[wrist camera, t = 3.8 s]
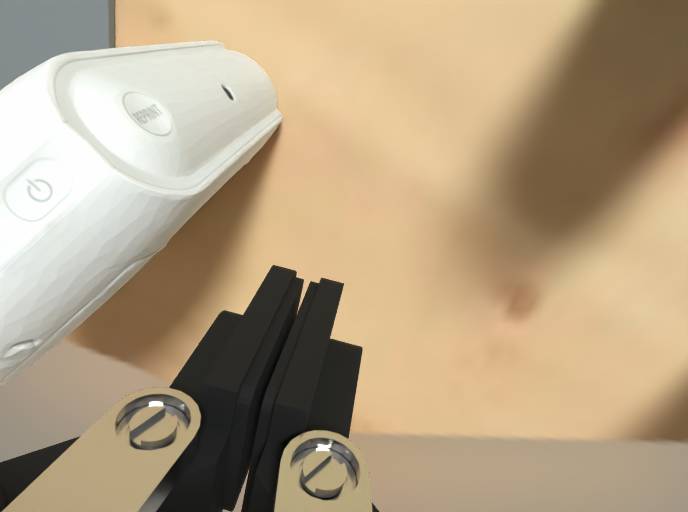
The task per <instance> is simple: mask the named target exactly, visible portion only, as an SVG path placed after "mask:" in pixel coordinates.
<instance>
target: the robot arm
mask: <svg viewBox="0 0 688 512" xmlns="http://www.w3.org/2000/svg"><path fill="white" fill-rule="evenodd" d="M296 274H297V272H296V271H294V270H291V269H287V268H283V267H279V266H275V265H273V266H272V267H271V269H270V271H269V272H268V274H267V276H266V277H265V279H264V281H263V282H262V284H261V286H260V288H259V289H258V291H257V293H256V294H255V296H254V298H253V299H252V301H251V303H250V304H249V306H248V308H247V309H246V311H245V313H244V315H240V314H236V313H232V312H229V311H225V310H224V311H222V312H221V313H220V314H219V315H218V317H217V318H216V319H215V321H214V322H213V324H212V325H211V327H210V328H209V330H208V331H207V333H206V334H205V336H204V337H203V339H202V340H201V342H200V343H199V345H198V346H197V347H196V349H195V350H194V352H193V353H192V355H191V356H190V358H189V359H188V361H187V362H186V364H185V365H184V367H183V368H182V370H181V371H180V372H179V374H178V375H177V377H176V378H175V380H174V381H173V383H172V384H171V386H170V387H169V388H165V387H153V388H147V389H142V390H138V391H136V392H134V393H131V394H129V395H126V396H125V397H124V398H122V399H121V400H120V401H118V402H117V403H115V405H113V406H112V407H111V408H110V409H109V410H108V411H107V412H106V413H105V414H104V415H103V416H102V417H101V418H100V419H99V420H98V421H96V422H95V423H94V424H93V425H92V426H91V427H90V428H89V429H88V430H87V431H86V432H85V433H84V434H83V435H82V436H80V437H77V438H74V439H71V440H68V441H65V442H62V443H59V444H56V445H53V446H50V447H47V448H44V449H41V450H37V451H34V452H31V453H28V454H25V455H22V456H19V457H16V458H13V459H10V460H7V461H4V462H1V463H0V512H222V510H223V509H225V510H228V511H231V512H232V511H233V510H234V507H235V505H236V502H237V500H238V497H239V494H240V492H241V488H242V486H243V484H244V481H245V478H246V476H247V473H248V470H249V473H248V479H247V484H246V489H245V494H244V500H243V505H242V510H241V512H379V511H378V510H377V508H376V507H375V506H374V505H373V503H372V499H371V484H370V472H369V468H368V464H367V460H366V459H365V457H364V455H363V454H362V452H361V450H360V449H359V448H358V447H357V446H356V445H355V444H354V443H353V442H352V441H351V440H349V439H348V438H349V432H350V425H351V419H352V413H353V406H354V400H355V394H356V388H357V381H358V375H359V369H360V362H361V356H362V347H360V346H356V345H352V344H349V343H345V342H341V341H337V340H334V339H330V336H331V332H332V328H333V324H334V320H335V317H336V313H337V309H338V305H339V301H340V297H341V294H342V290H343V286H344V283H340V282H336V281H332V280H328V279H325V278H321V280H320V282H319V283H315V282H312V281H311V282H310V284H309V286H308V289H307V291H306V294H305V296H304V299H303V301H302V304H301V306H300V309H299V311H298V306H299V302H300V297H301V292H302V288H303V283H304V279H300V278H297V277H296ZM297 311H298V314H297ZM249 467H250V468H249Z"/></svg>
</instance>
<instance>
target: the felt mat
mask: <svg viewBox="0 0 688 512" xmlns="http://www.w3.org/2000/svg"><path fill="white" fill-rule="evenodd" d="M109 48H115V0H0V91H1V90H2V89H3V88H4V87H5V86H7V85H8V84H10V83H11V82H13V81H14V80H15V79H16V78H18V77H20V76H21V75H23V74H25V73H26V72H28V71H30V70H31V69H33V68H35V67H36V66H38V65H40V64H41V63H43V62H45V61H47V60H49V59H51V58H52V57H55V56H58V55H61V54H64V53H69V52H78V51H93V50H100V49H109Z"/></svg>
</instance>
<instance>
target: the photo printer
mask: <svg viewBox="0 0 688 512" xmlns="http://www.w3.org/2000/svg"><path fill="white" fill-rule="evenodd" d="M277 106H278V102H277V96H276V92H275V89H274V86H273V84H272V82H271V80H270V78H269V77H268V75H267V74H266V73H265V71H264V70H263V69H262V68H261V67H260V66H259V64H257V63H256V62H255V61H254V60H252V59H251V58H249V57H248V56H246V55H244V54H241V53H239V52H236V51H231V50H227V49H226V48H225V47H224V45H223V44H222V43H221V42H217V41H196V42H183V43H171V44H158V45H147V46H131V47H120V48H109V49H100V50H93V51H78V52H69V53H64V54H61V55H58V56H55V57H52V58H51V59H49V60H47V61H45V62H43V63H41V64H40V65H38V66H36V67H35V68H33V69H31V70H30V71H28V72H26V73H25V74H23V75H21V76H20V77H18V78H16V79H15V80H14V81H13V82H11V83H10V84H8V85H7V86H5V87H4V88H3V89H2V90H1V91H0V387H1V386H3V385H5V384H6V383H8V382H9V381H10V380H12V379H13V378H14V377H16V376H17V375H19V374H20V373H22V372H23V371H24V370H26V369H27V368H28V367H30V366H31V365H32V364H33V363H35V362H36V361H37V360H39V359H40V358H41V357H42V356H44V355H45V354H46V353H47V352H48V351H50V350H51V349H52V348H53V347H54V346H56V345H57V344H58V343H59V342H61V341H62V340H63V339H64V338H65V337H66V336H68V335H69V334H70V333H71V332H72V331H73V330H74V329H76V328H77V327H78V326H79V325H81V324H82V323H83V322H84V321H85V320H86V319H87V318H88V317H89V316H90V315H92V314H93V313H94V312H95V311H96V310H97V309H98V308H100V307H101V306H102V305H103V304H104V303H105V302H106V301H107V300H108V299H109V298H110V297H112V296H113V295H114V294H115V293H116V292H117V291H118V290H119V289H120V288H121V287H122V286H123V285H124V284H126V283H127V282H128V281H129V280H130V279H131V278H132V277H133V276H134V275H135V274H136V273H137V272H138V271H139V270H140V269H141V268H142V267H143V266H144V265H145V264H146V263H147V262H148V261H149V260H150V259H151V258H152V257H153V256H154V255H155V254H156V253H158V252H159V251H161V250H162V249H164V248H165V246H166V245H167V243H168V242H169V240H170V239H171V237H172V236H173V235H174V234H175V233H176V232H177V231H178V230H179V229H180V228H181V227H182V226H183V225H184V224H185V223H186V222H187V221H188V220H189V219H190V218H191V217H192V216H193V215H194V214H195V213H196V212H197V211H198V210H199V209H200V208H201V207H202V206H203V205H204V204H205V203H206V202H207V201H208V200H209V199H210V198H211V197H212V196H213V195H214V194H215V193H216V192H217V191H218V190H219V189H220V188H221V187H222V186H223V185H224V184H225V183H226V182H227V181H228V180H229V179H230V178H231V177H232V176H233V175H234V174H235V173H236V172H238V171H239V170H240V169H241V168H242V167H243V166H244V165H245V164H247V163H248V162H249V161H250V159H251V158H252V157H253V156H254V155H255V154H256V153H257V152H258V151H259V150H260V149H261V148H262V146H263V145H264V144H265V143H266V142H267V141H268V139H269V138H270V137H271V136H272V134H273V133H274V131H275V130H276V129H277V127H278V125H279V124H280V122H281V121H282V119H283V116H282V114H281V113H280V112H279V111H278V109H277Z"/></svg>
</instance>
